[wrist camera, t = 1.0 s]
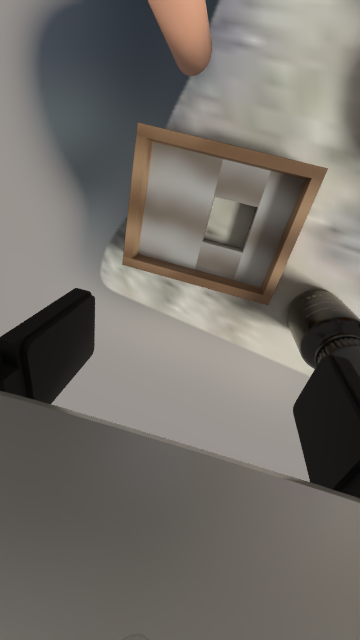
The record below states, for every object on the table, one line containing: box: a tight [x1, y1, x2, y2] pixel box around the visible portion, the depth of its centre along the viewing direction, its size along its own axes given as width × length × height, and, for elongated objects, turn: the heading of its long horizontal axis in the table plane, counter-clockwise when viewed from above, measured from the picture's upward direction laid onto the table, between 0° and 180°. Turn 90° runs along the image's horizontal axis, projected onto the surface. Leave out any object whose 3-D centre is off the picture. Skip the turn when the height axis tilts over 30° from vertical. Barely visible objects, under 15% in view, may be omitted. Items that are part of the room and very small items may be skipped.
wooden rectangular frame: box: [122, 123, 328, 305], centre depth 29 cm, size 14×18×4 cm
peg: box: [148, 0, 212, 76], centre depth 19 cm, size 4×4×11 cm
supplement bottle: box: [287, 290, 360, 377], centre depth 28 cm, size 7×7×12 cm
